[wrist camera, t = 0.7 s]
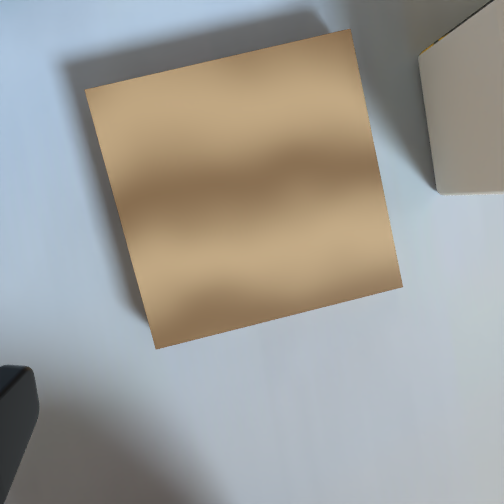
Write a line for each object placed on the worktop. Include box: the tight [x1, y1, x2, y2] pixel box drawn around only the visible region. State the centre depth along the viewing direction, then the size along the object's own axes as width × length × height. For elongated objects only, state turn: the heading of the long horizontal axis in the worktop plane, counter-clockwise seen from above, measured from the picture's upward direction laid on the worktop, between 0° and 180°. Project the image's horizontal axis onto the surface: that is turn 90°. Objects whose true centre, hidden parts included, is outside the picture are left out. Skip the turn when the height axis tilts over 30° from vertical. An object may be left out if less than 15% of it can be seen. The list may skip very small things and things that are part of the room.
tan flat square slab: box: [85, 29, 403, 349], centre depth 22 cm, size 12×12×2 cm
